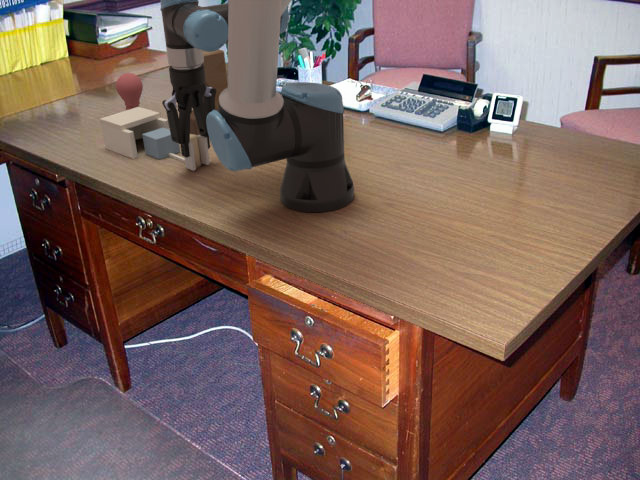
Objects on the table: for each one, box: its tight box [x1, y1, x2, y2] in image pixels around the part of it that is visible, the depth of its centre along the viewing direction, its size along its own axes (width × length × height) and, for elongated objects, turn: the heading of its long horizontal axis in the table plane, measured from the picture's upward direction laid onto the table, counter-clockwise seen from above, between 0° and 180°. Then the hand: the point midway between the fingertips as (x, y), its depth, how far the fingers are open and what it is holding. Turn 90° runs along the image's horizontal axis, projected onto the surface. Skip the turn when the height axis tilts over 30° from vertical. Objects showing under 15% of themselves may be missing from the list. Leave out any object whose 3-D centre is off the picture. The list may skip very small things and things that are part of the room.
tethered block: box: [142, 128, 202, 169], centre depth 167 cm, size 17×6×7 cm, turn 45°
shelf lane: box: [99, 107, 170, 160], centre depth 175 cm, size 12×11×8 cm
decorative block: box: [190, 49, 228, 136], centre depth 181 cm, size 11×6×20 cm, turn 127°
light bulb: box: [115, 72, 144, 111], centre depth 196 cm, size 7×7×12 cm
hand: (197, 165), depth 163 cm, fingers closed on tethered block, 3 cm apart
